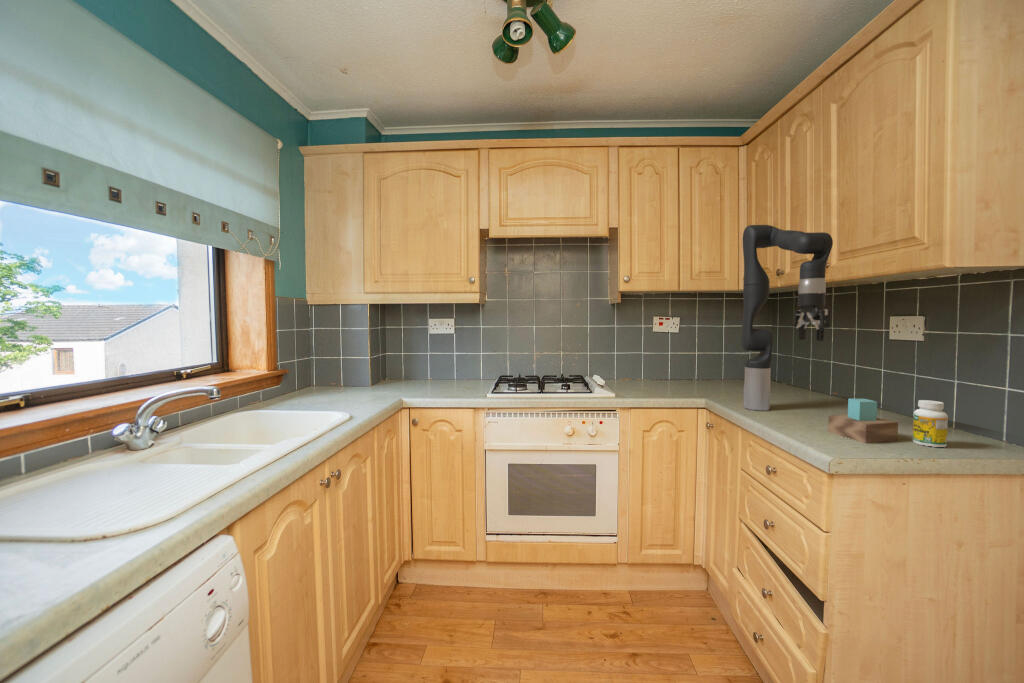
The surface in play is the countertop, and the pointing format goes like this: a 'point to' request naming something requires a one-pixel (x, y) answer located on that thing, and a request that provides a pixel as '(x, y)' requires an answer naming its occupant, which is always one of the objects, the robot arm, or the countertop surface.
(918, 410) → the supplement bottle
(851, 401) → the teal block
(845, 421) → the walnut box
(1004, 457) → the countertop surface
